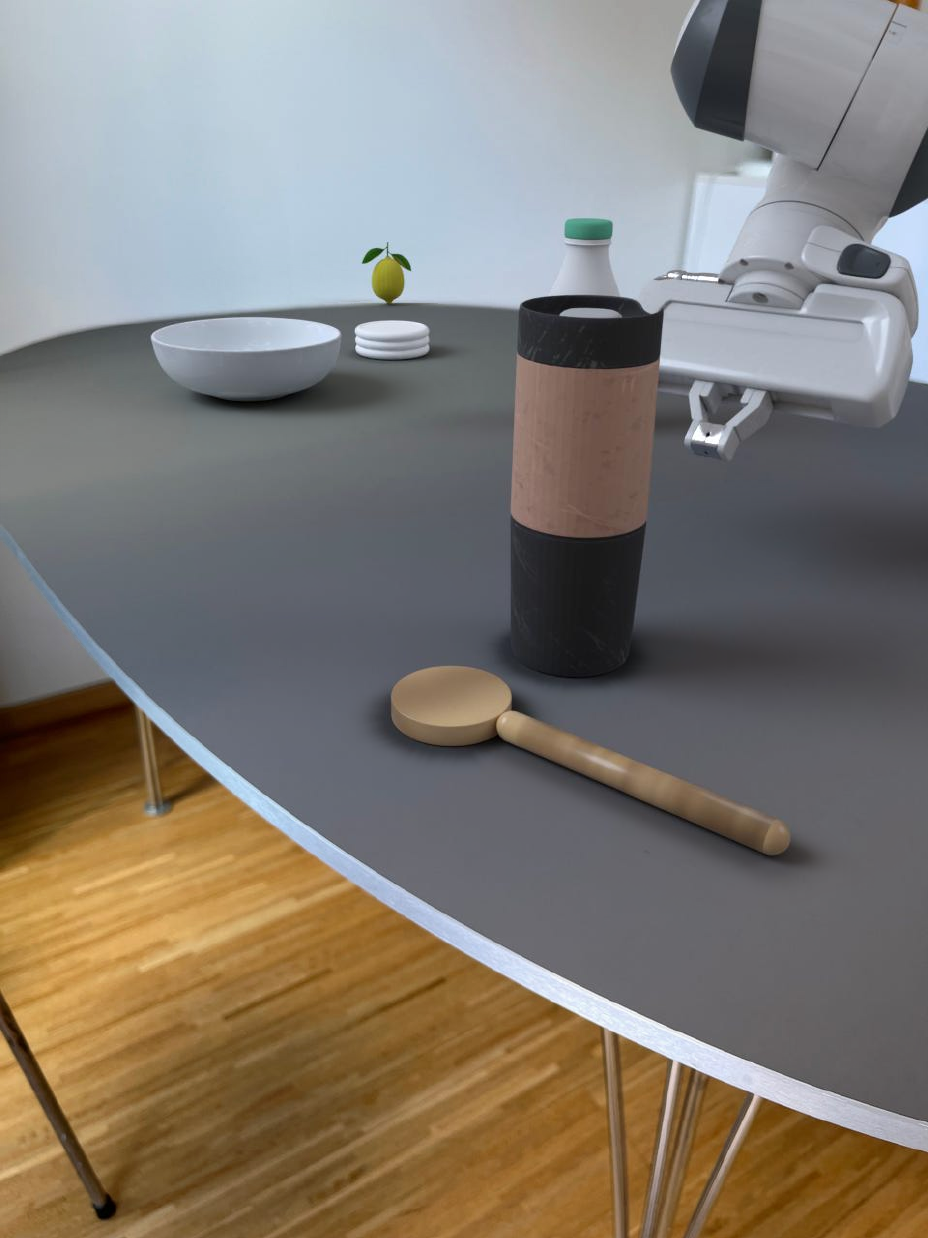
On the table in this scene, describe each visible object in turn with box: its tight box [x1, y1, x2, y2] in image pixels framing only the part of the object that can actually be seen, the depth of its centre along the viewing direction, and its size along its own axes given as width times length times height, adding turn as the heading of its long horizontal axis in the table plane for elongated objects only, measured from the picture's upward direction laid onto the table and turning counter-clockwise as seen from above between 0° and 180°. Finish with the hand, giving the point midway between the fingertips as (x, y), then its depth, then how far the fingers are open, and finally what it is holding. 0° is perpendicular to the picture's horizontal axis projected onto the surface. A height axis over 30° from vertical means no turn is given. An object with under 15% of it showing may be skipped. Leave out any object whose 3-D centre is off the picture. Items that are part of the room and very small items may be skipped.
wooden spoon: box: [390, 665, 792, 856], centre depth 50 cm, size 22×6×2 cm, turn 51°
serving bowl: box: [150, 316, 343, 402], centre depth 117 cm, size 21×21×7 cm
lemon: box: [361, 241, 412, 305], centre depth 173 cm, size 7×6×10 cm
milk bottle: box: [548, 217, 621, 297], centre depth 103 cm, size 8×8×20 cm
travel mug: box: [510, 295, 664, 678], centre depth 58 cm, size 8×8×20 cm
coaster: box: [354, 320, 430, 361], centre depth 139 cm, size 10×10×4 cm
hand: (705, 453), depth 68 cm, fingers closed
